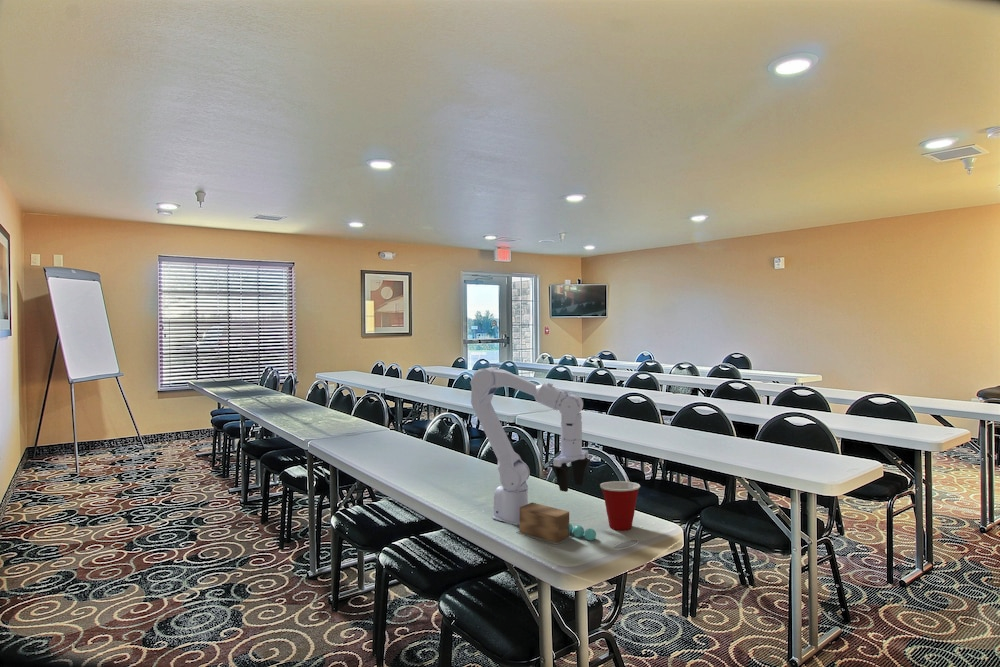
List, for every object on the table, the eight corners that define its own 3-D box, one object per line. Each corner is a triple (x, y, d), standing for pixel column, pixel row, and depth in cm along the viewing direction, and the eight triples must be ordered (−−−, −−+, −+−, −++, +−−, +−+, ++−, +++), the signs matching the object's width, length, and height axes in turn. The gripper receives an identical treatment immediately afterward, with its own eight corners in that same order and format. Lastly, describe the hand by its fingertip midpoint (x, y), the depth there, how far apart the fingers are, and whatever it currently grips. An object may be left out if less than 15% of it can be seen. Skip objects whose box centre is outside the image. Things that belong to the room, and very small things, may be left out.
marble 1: (559, 534, 146) (559, 522, 146) (565, 531, 148) (565, 519, 148) (568, 536, 144) (568, 525, 144) (575, 533, 146) (575, 522, 146)
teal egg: (582, 540, 142) (582, 528, 142) (588, 537, 144) (588, 525, 144) (592, 543, 140) (592, 531, 140) (598, 540, 142) (598, 528, 142)
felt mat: (515, 533, 146) (515, 532, 146) (531, 526, 152) (531, 524, 152) (556, 545, 138) (556, 544, 138) (572, 537, 144) (572, 536, 143)
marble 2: (570, 537, 144) (570, 525, 144) (576, 534, 146) (576, 522, 146) (580, 540, 142) (580, 528, 142) (586, 536, 144) (586, 525, 144)
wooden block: (519, 531, 147) (519, 507, 147) (532, 526, 151) (532, 502, 151) (557, 543, 139) (557, 517, 139) (569, 536, 143) (569, 511, 143)
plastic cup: (622, 518, 158) (621, 476, 158) (648, 530, 149) (648, 486, 148) (591, 524, 153) (591, 481, 153) (617, 537, 143) (617, 491, 143)
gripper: (569, 444, 144) (569, 496, 144) (597, 436, 155) (597, 484, 155) (547, 441, 149) (547, 491, 149) (576, 433, 160) (576, 480, 160)
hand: (571, 487), depth 152 cm, fingers open, 7 cm apart
